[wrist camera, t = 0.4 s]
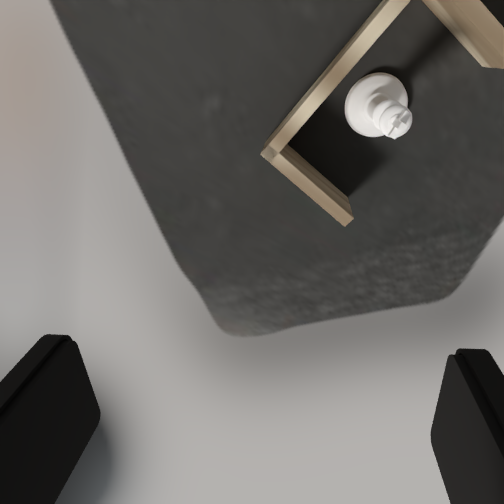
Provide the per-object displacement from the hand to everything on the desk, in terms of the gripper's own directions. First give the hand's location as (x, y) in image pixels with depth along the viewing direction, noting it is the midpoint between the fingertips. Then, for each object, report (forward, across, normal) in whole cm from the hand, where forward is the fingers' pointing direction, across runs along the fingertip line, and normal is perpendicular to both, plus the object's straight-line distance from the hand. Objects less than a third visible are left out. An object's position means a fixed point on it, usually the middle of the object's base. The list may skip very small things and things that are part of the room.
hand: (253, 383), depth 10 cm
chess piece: (+27, -7, -3) cm, 28 cm away
